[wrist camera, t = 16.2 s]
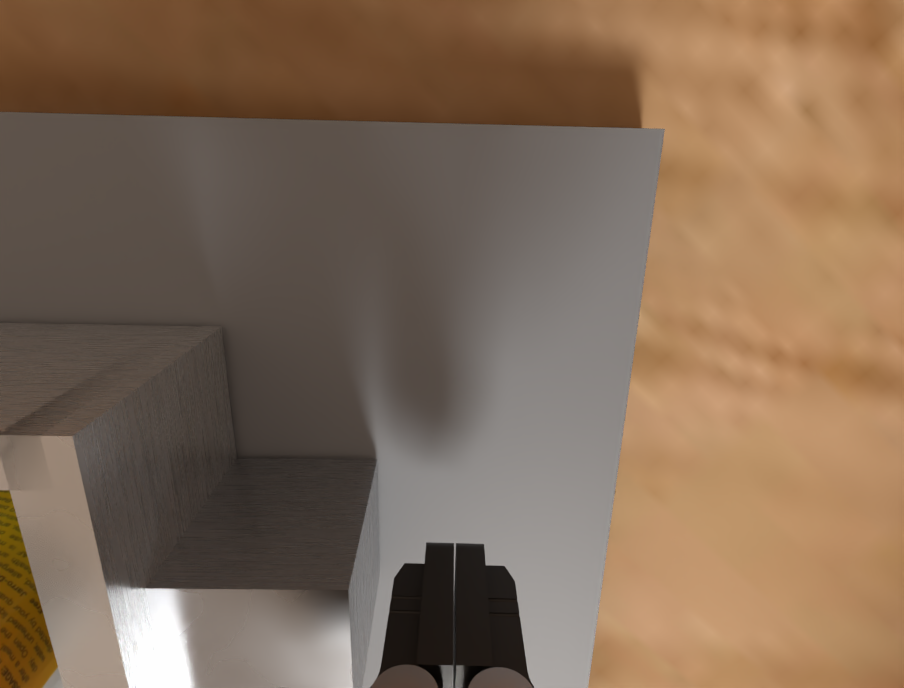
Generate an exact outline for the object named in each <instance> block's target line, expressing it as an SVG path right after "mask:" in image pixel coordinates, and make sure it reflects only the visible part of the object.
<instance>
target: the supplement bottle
mask: <svg viewBox="0 0 904 688" xmlns="http://www.w3.org/2000/svg"><path fill="white" fill-rule="evenodd" d="M0 688H64V687H63V683H62V680H61V676H60V672H59V669H58V665H57V661H56V658H55V654H54V650H53V647H52V643H51V640H50V636H49V632H48V629H47V625H46V621H45V618H44V614H43V610H42V607H41V603H40V599H39V596H38V592H37V589H36V585H35V581H34V578H33V574H32V570H31V567H30V563H29V559H28V556H27V552H26V548H25V545H24V541H23V537H22V534H21V530H20V527H19V523H18V519H17V516H16V512H15V508H14V505H13V501H12V497H11V494H10V490H0Z"/></svg>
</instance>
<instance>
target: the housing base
mask: <svg viewBox="0 0 904 688" xmlns="http://www.w3.org/2000/svg"><path fill="white" fill-rule="evenodd" d="M664 130H665V129H647V128H608V127H569V126H530V125H492V124H453V123H414V122H375V121H337V120H298V119H259V118H220V117H181V116H143V115H104V114H65V113H26V112H0V323H39V324H97V325H155V326H213V327H221V328H222V337H223V345H224V354H225V362H226V371H227V379H228V388H229V396H230V405H231V413H232V422H233V431H234V439H235V448H236V456H237V458H300V459H377V466H378V508H379V550H380V576H379V583H378V589H377V596H376V602H375V609H374V615H373V622H372V628H371V635H370V641H369V648H368V654H367V661H366V667H365V674H364V680H363V687H362V688H370V687H371V686H372V685H373V683H374V681H375V680H376V678H377V677H378V674H379V672H380V667H381V661H382V655H383V648H384V642H385V635H386V628H387V622H388V615H389V608H390V602H391V595H392V588H393V582H394V577H395V576H396V575H397V573H398V572H399V570H400V569H401V568H402V566H403V565H404V563H418V564H424V563H425V551H426V542H432V543H454V581H455V554H456V543H472V544H484V549H485V563H486V565H493V566H505V567H506V569H507V570H508V572H509V573H510V575H511V576H512V578H513V579H514V581H515V585H516V592H517V602H518V606H519V617H520V621H521V628H522V635H523V642H524V649H525V657H526V664H527V671H528V675H529V678H530V680H531V683H532V684H533V686H534V688H588V683H589V676H590V669H591V661H592V654H593V647H594V640H595V632H596V625H597V618H598V610H599V603H600V596H601V589H602V581H603V574H604V567H605V559H606V552H607V545H608V538H609V530H610V523H611V516H612V509H613V501H614V494H615V487H616V479H617V472H618V465H619V458H620V450H621V443H622V436H623V428H624V421H625V414H626V407H627V399H628V392H629V385H630V378H631V370H632V363H633V356H634V348H635V341H636V334H637V327H638V319H639V312H640V305H641V298H642V290H643V283H644V276H645V268H646V261H647V254H648V247H649V239H650V232H651V225H652V217H653V210H654V203H655V196H656V188H657V181H658V174H659V167H660V159H661V152H662V145H663V137H664ZM452 688H453V685H452Z"/></svg>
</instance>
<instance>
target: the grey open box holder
mask: <svg viewBox="0 0 904 688" xmlns="http://www.w3.org/2000/svg"><path fill="white" fill-rule="evenodd" d="M0 490H10V494H11V497H12V501H13V505H14V508H15V512H16V516H17V519H18V523H19V527H20V530H21V534H22V537H23V541H24V545H25V548H26V552H27V556H28V559H29V563H30V567H31V570H32V574H33V578H34V581H35V585H36V589H37V592H38V596H39V599H40V603H41V607H42V610H43V614H44V618H45V621H46V625H47V629H48V632H49V636H50V640H51V643H52V647H53V650H54V654H55V658H56V661H57V665H58V669H59V672H60V676H61V680H62V683H63V687H64V688H362V687H363V680H364V674H365V667H366V661H367V654H368V648H369V641H370V635H371V628H372V622H373V615H374V609H375V602H376V596H377V589H378V583H379V576H380V550H379V508H378V466H377V459H300V458H237V456H236V448H235V439H234V431H233V422H232V413H231V405H230V396H229V388H228V379H227V371H226V362H225V354H224V345H223V337H222V328H221V327H213V326H155V325H97V324H39V323H0Z"/></svg>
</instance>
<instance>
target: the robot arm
mask: <svg viewBox="0 0 904 688" xmlns="http://www.w3.org/2000/svg"><path fill="white" fill-rule="evenodd" d="M452 685H453V688H534V686H533V684H532V683H531V680H530V678H529V675H528V671H527V664H526V657H525V649H524V642H523V635H522V628H521V621H520V617H519V606H518V602H517V592H516V585H515V581H514V579H513V578H512V576H511V575H510V573H509V572H508V570H507V569H506V567H505V566H493V565H486V563H485V549H484V544H472V543H456V554H455V581H454V543H432V542H426V551H425V563H424V564H418V563H404V565H403V566H402V568H401V569H400V570H399V572H398V573H397V575H396V576H395V577H394V582H393V588H392V595H391V602H390V608H389V615H388V622H387V628H386V635H385V642H384V648H383V655H382V661H381V667H380V672H379V674H378V677H377V678H376V680H375V681H374V683H373V685H372V686H371V687H370V688H452Z"/></svg>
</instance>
